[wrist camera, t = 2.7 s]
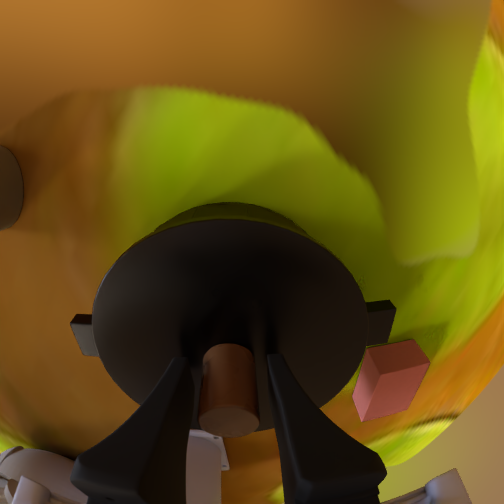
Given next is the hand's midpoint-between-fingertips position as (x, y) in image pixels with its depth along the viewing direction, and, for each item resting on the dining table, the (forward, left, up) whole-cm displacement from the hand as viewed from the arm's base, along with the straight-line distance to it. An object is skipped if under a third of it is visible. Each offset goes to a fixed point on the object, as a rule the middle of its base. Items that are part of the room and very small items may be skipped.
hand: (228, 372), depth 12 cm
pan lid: (0, 0, -1) cm, 1 cm away
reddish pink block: (-8, -12, -6) cm, 16 cm away
